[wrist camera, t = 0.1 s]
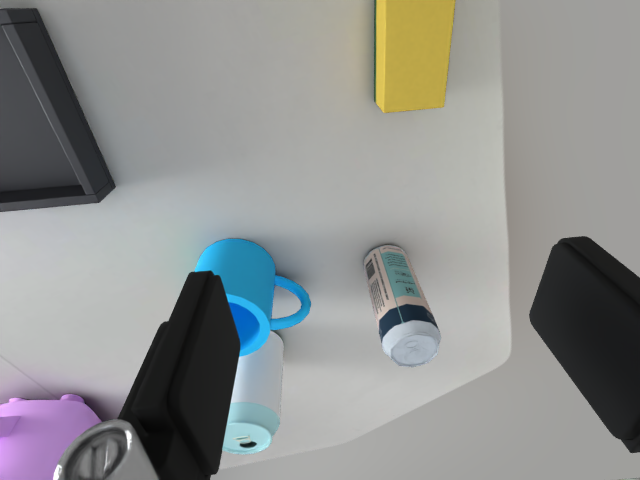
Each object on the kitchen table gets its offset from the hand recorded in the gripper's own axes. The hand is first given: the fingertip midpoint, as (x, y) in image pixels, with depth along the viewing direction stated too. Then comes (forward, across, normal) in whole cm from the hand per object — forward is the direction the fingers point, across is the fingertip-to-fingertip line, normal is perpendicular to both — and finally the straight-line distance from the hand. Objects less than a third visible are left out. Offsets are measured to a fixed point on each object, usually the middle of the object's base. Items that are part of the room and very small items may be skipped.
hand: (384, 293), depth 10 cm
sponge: (+22, -6, -4) cm, 24 cm away
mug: (+23, +9, +16) cm, 29 cm away
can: (+23, +11, +27) cm, 37 cm away
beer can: (+23, -5, +16) cm, 28 cm away
